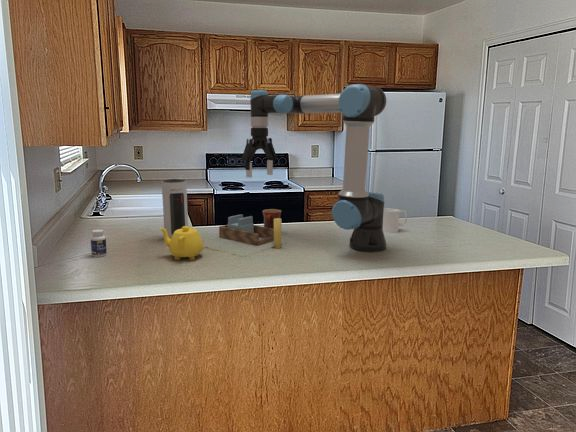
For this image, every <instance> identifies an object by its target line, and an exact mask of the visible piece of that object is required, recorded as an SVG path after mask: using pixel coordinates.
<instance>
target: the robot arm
mask: <svg viewBox="0 0 576 432" xmlns="http://www.w3.org/2000/svg"><path fill="white" fill-rule="evenodd" d="M249 99H250V100H249V102H250V127H251V128H250V136H251V138H247V139H246V144H245V148H244V150H243V153H242V157H241V161H242V162H243V163H244V165H245V167H244V169H245V177H246V178H251V179H252V178H253V162H252V159H253V158H254V156H255V154H256V152H257V151H258V150H262V151H263V153H264V155H265V156H266V157H267V160H266V175H268V176H272V175H273V170H274V169H273V167H274V161H275V160H276V159H277V153H276V151H275V147H274V145H273V139H272V137H268V136H269V128H268V127H269V114H280V115H281V114H293V115H295V114H296V115H297V114H298V115H302V114H326V113H327V114H328V113H341V114H342V122H343V123H344V124H345V127H346V129H345V144H344V159H343V160H344V162H343V180H342V189H341V190H340V191H339V192H338V195H337V196H338V197H337V201H336V202H335V203H334V205H333V206H332V209H331V216H332V219H333V222H334V223H336V225H337V226H338V227H339V228H340V229H343V230H352V233H351V235H350V239H349V240H348V241H349V244H348V246H349V248H350V249H353V250H355V251H361V252H372V253H373V252H380V251H384V250H386V249H387V241H386V238H385V234H384V233H385V232H383V213H384V209H385V197H384V195H383V194H382V193H378V192H373V191H372V192H370V191H366V181H367V168H368V155H369V143H370V142H369V141H370V140H369V139H370V127H371V126H372V125H373V124H374V123H375V118H376V117H377V116H378V115H380V114H382V112H383V111H384V110H385V108H386V106H387V96H386V94H385V92H384V91H383V89H382V88H380V87H379V86H377V85H369V84H363V83H357V84H356V83H355V84H353V83H352V84H349V85H347V86H346V87H344V88H343V90H342V91H341V93H329V94H310V95H306V94H305V95H289V94H269V92H268V91H267V90H264V89H263V90H261V89H259V90H252V91H251V92H250V98H249Z"/></svg>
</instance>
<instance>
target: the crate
mask: <svg viewBox="0 0 576 432" xmlns="http://www.w3.org/2000/svg"><path fill="white" fill-rule="evenodd" d="M253 218H254V217H253V215H250V216H245V217H244V214H237V215H232V216H228V217H227V224H226V225H227V228H232V229H237V230H242V231H246V232H251V233H254V225H255V224H254V220H253Z"/></svg>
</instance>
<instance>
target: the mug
mask: <svg viewBox="0 0 576 432" xmlns="http://www.w3.org/2000/svg"><path fill="white" fill-rule="evenodd" d="M281 213H282V210H281V209H276V208H269V209H267V208H266V209H263V210H262V215H263V227H266V228H272V229H274V219H275V218H280V219H281Z"/></svg>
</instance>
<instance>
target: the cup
mask: <svg viewBox="0 0 576 432" xmlns="http://www.w3.org/2000/svg"><path fill="white" fill-rule="evenodd" d="M400 213H404V216H405V217H404V222H403V223H400ZM407 219H408V215H407V211H406V209H405V210H403V209H397V208H392V207H391V208H389V207H388V208H387V207H386V208H385V207H384V213H383V233H389V234H390V233H397V232H399V227H404V226H406V224H407Z"/></svg>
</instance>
